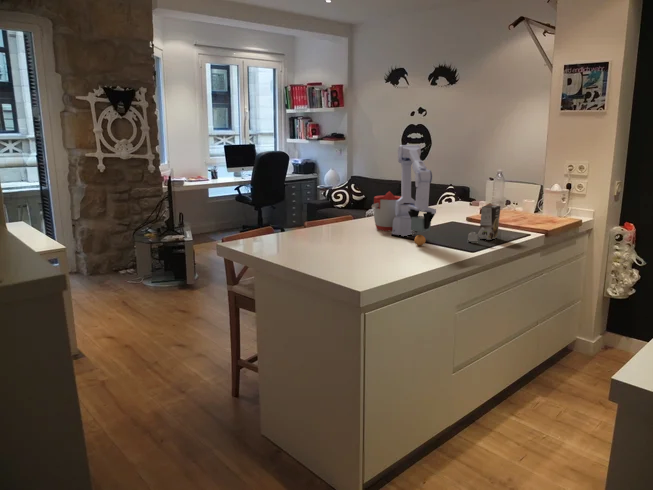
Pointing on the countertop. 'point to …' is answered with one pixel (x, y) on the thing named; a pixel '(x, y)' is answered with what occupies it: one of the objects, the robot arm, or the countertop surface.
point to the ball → (419, 240)
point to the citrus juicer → (385, 211)
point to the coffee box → (490, 221)
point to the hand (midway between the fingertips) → (420, 227)
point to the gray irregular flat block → (475, 235)
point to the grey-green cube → (418, 224)
